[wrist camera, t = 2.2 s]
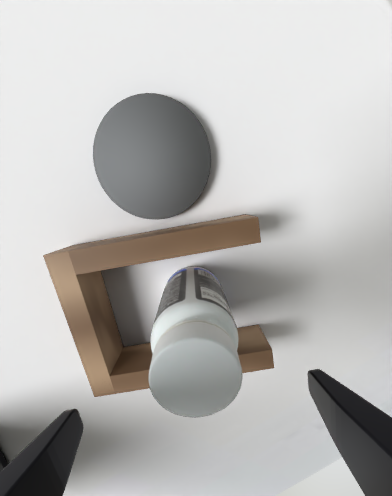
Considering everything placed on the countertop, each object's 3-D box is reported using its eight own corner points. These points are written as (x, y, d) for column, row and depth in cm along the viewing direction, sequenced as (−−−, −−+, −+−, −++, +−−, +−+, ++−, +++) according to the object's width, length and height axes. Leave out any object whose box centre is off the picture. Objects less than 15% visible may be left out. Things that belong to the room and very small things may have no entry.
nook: (260, 340, 17) (274, 367, 14) (110, 365, 18) (94, 396, 15) (245, 214, 15) (258, 216, 12) (71, 245, 15) (43, 255, 12)
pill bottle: (170, 321, 17) (150, 432, 9) (159, 270, 16) (125, 341, 8) (225, 313, 17) (257, 417, 9) (218, 260, 16) (246, 322, 8)
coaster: (217, 208, 15) (218, 208, 14) (114, 227, 15) (111, 228, 14) (199, 87, 13) (200, 82, 12) (82, 110, 13) (77, 105, 13)
